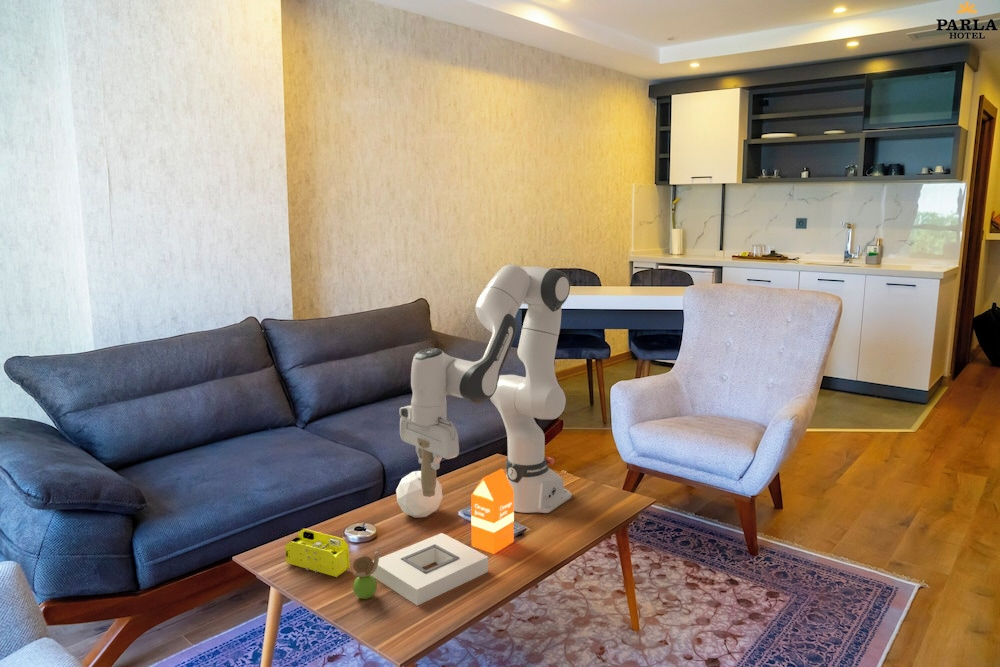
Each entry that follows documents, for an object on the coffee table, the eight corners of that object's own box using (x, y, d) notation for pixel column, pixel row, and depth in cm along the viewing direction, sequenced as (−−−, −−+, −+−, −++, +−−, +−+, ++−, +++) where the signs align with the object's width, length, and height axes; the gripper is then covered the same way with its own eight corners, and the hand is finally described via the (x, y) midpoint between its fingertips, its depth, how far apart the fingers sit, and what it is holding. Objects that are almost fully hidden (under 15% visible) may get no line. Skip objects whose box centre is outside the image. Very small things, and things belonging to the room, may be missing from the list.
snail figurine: (383, 600, 167) (381, 552, 164) (354, 605, 165) (352, 556, 163) (380, 588, 172) (378, 541, 170) (352, 592, 170) (350, 545, 168)
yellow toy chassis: (350, 570, 181) (349, 539, 179) (336, 580, 176) (334, 548, 174) (300, 556, 188) (299, 526, 186) (285, 566, 183) (283, 535, 181)
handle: (428, 501, 182) (428, 443, 179) (413, 493, 186) (413, 437, 184) (443, 496, 185) (443, 439, 182) (429, 489, 189) (428, 433, 187)
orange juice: (471, 545, 193) (470, 474, 189) (491, 533, 200) (491, 464, 196) (494, 554, 188) (494, 481, 185) (514, 541, 195) (514, 471, 192)
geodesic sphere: (457, 503, 206) (443, 458, 211) (413, 514, 199) (399, 467, 204) (439, 517, 217) (426, 474, 222) (397, 528, 210) (384, 483, 215)
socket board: (442, 546, 192) (441, 531, 192) (488, 571, 180) (488, 555, 179) (372, 576, 177) (371, 560, 177) (417, 605, 165) (416, 588, 164)
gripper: (465, 420, 177) (464, 474, 179) (415, 403, 191) (415, 453, 194) (445, 425, 172) (445, 480, 175) (395, 407, 187) (395, 458, 189)
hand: (428, 466), depth 184 cm, fingers closed on handle, 4 cm apart
